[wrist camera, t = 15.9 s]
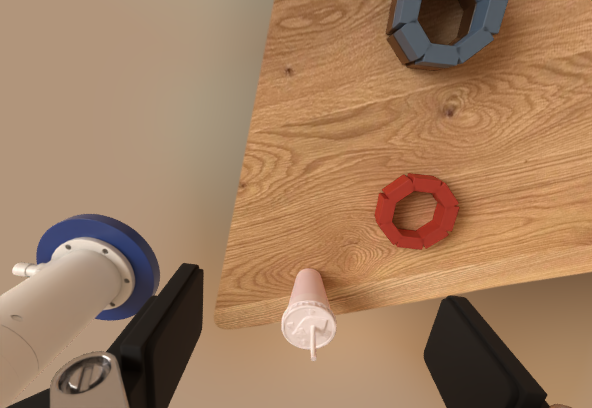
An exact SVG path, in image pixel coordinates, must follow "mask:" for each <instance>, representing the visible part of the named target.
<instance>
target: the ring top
mask: <svg viewBox="0 0 592 408" xmlns="http://www.w3.org/2000/svg"><path fill="white" fill-rule="evenodd" d="M382 191H383V192H384V193H385V194H384V193H379V197H378V202H377V207H376V211H375V218H376V222H377V224H378V225H379V227H380V228H381V230H382V231H383V232H384V234H385V235H386V236H387V237H388V239H389V240H390V241H391V243H392V244H393V245H394V244H396V246H397V247H402V248H411V249H420V250H422V248H423V246H424V247H425V248H426V249H427V248H428V247H430V246H432V245H433V244H435V243H437V242H438V241H440V240H442V239H443V238H445V237H446V236H448V235H449V234H448V233H447V231H452V229H453V226H454V223H455V220H456V217H457V214H458V210H459V207H458V206H457V204H459V203H458V201H457V200H456V198H455V197H454V195H453V194H452V192H451V191H450V189H449V188H448V186H447V185H446V183H444V182H442V181H441V180H439V179H437V178H436V177H434V176H429V175H420V174H411V173H408V176H407V177H406V176H405V175H402V176H401V177H399V178H398V179H396V180H395V181H394V182H392V183H391V184H389V185H388V186H386V187H385V188H383V189H382ZM413 191H419V192H428V193H431V194H432V195H433V197H434V198H435V200H436V201H437V202H438V203H437V206H436V209H435V213H434V216H433V220H432V221H430V222H429V223H427V224H426V225H424V226H422V227H421V228H419V229H418V230H416V231H413V230H404V229H397V227H396V226H395V225H394V223H393V222H392V219H393V215H394V211H395V206H396V203H397V202H399V201H400V200H401V199H403V198H404V197H406V196H407V195H409V194H410V193H412V192H413Z"/></svg>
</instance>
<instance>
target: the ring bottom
mask: <svg viewBox="0 0 592 408" xmlns="http://www.w3.org/2000/svg"><path fill="white" fill-rule="evenodd" d="M458 1H459V3H460V5H461V7H462V8H463V10H464V13H463V16H462V20H461V24H460V28H459V32H458V36H457V38H456V39H455V40H454V41H452V42H451V43H450V44H449V45H450V46H453V45H454V44H456V43H457V42H458V41H459V40H461V39H462V38H463V37H465V36H466V35H467V34H468V33H469V32H470V28H471V25H472V21H473V17H474V14H475V10H476V6H477V2H476V0H458ZM397 2H398V0H392V3H391V8H390V13H389V19H388V24H387V29H386V34H391V36H390V37H389V38H387V41H388V42H389V44H390V45H391V47H392V49H393V50H394V52H395V53H396V55H397V57H398V58H399V60H400V61H401V63H402V64H405V63H407V67H408V68H417V69H426V70H434V71H435V70H439V69H443V68H440V67H431V66H422V65H415V61H416V60H414V61H411V62H410V60H409V59H408V57H407V55H406V54H405V52H404V51H403V49H402V47H401V46H400V44H399V43H398V41H397V39H396V38H395V36H394V33H395V32H397V31H398V30H399V29H393V23H394V17H395V12H396V7H397Z"/></svg>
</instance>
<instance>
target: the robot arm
mask: <svg viewBox="0 0 592 408" xmlns="http://www.w3.org/2000/svg"><path fill="white" fill-rule="evenodd" d="M13 274H14V275H17V276H25V277H30V278H28V279H26V280H25V281H23V282H22V283H20V284H18V285H17V286H15V287H14V288H12V289H10V290H9V291H7V292H6V293H4V294H3V295H1V296H0V408H168V406H169V403H170V401H171V399H172V397H173V394H174V392H175V390H176V388H177V385H178V383H179V381H180V378H181V377H182V374H183V372H184V370H185V368H186V365H187V363H188V361H189V359H190V356H191V354H192V352H193V350H194V348H195V345H196V343H197V341H198V339H199V336H200V333H201V330H202V319H203V317H202V316H203V315H202V314H203V269H199V266H198V265H195V264H187V263H183V264H182V265H181V266H180V267H179V269H178V270H177V271H176V273H175V274H174V275H173V276H172V278H171V279H170V280H169V282H168V283H167V284H166V286H165V287H164V288H163V290H162V291H161V292H160V294H159V295H158V296H154V295H153V296H151V297H150V298H149V299H148V300H147V301H146V302H145V304H144V305H143V306H142V307H141V309H140V310H139V311H138V312H137V314H136V315H135V316H134V318H133V319H132V320H131V321H130V323H129V324H128V325H127V326H126V328H125V329H124V330H123V331H122V333H121V334H120V335H119V336H118V338H117V339H116V340H115V341H114V343H113V344H112V345H111V346H110V348H109V349H108V350H107V351H106V352H103V351H99V352H91V353H87V354H83V355H81V356H79V357H76V358H74V359H73V360H71V361H69V362H68V363H66V364H65V365H64V366H63V367H62V368H60V369H59V371H57V372H56V374H55V376H54V377H53V379H52V381H51V385H50V388H49V389H46V390H44V391H42V392H40V393H37V394H35V395H33V396H31V397H28V398H26V399H24V400H22V401H19V402H17V403H15V404H13V405H10V404H11V403H12V401H13V400H14V399H15V398H16V397H17V396H18V395H19V394H20V393H21V392H22V391H23V390H24V389H25V388H26V387H27V386H28V385H29V384H30V383H31V382H32V381H33V380H34V379H35V378H36V377H37V376H38V375H39V374H40V373H41V372H42V371H43V370H44V369H45V368H46V367H47V366H48V365H49V364H50V363H51V362H52V361H53V360H54V359H55V358H56V357H57V356H58V355H59V354H60V353H61V352H62V351H63V350H64V349H65V348H66V347H67V346H68V345H69V344H70V343H71V342H72V341H73V339H75V337H77V336H78V335H79V334H80V333H81V332H82V331H83V329H85V328H86V326H88V325H89V324H90V323H91V322H92V320H94V318H95V317H96V316H97V315H98V314H99V313H100V312H101V311H102V310H108V309H113V308H116V307H118V306H120V305H122V304H123V303H124V302H125V301H126V300H127V299H128V298H129V297H130V296H131V294H132V292H133V290H134V287H135V275H134V271H133V268H132V266H131V264H130V262H129V261H128V260H127V258H126V257H125V256H124V255H123V254H122V253H121V252H120V251H119V250H118V249H117V248H115V247H114V246H112V245H111V244H109V243H107V242H105V241H102V240H99V239H96V238H91V237H79V238H74V239H71V240H69V241H67V242H65V243H63V244H62V245H60V246H59V247H58V248H57V249H56V250H55V252H54V253H53V255H52V258H51V261H49V262H48V263H40V264H38V265H35V264H31V263H23V262H21V263H18V264H16V265H15V266H14V268H13ZM424 360H425V363H426V365H427V367H428V369H429V371H430V373H431V376H432V378H433V380H434V382H435V384H436V386H437V388H438V390H439V392H440V395H441V397H442V399H443V401H444V403H445V405H446V407H447V408H571V407H569V406H565V405H561V404H554V405H551V406H549V405H548V403H547V402H546V401H545V399H546V397H547V393H546V392H545V391H544V390H543V389H542V388H541V386H540V385H539V384H538V383H537V382H536V380H535V379H534V378H533V377H532V376H531V374H530V373H529V372H528V371H527V370H526V369H525V367H524V366H523V365H522V364H521V363H520V361H519V360H518V359H517V358H516V357H515V356H514V354H513V353H512V352H511V351H510V350H509V348H508V347H507V346H506V345H505V344H504V343H503V341H502V340H501V339H500V338H499V336H498V335H497V334H496V333H495V332H494V331H493V329H492V328H491V327H490V326H489V325H488V323H487V322H486V321H485V320H484V319H483V317H482V316H481V315H480V314H479V313H478V312H477V310H476V309H475V308H474V307H473V306H472V304H471V303H470V302H469V301H468V300H467V299H466V298H464V297H458V296H451V295H450V296H447V297H446V299H443V300H442V302H441V304H440V307H439V310H438V313H437V316H436V319H435V322H434V324H433V327H432V330H431V333H430V336H429V339H428V342H427V345H426V347H425V350H424ZM9 405H10V406H9Z"/></svg>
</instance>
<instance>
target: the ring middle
mask: <svg viewBox="0 0 592 408" xmlns="http://www.w3.org/2000/svg"><path fill="white" fill-rule="evenodd" d="M421 1H422V0H398V2H397V7H396V12H395V17H394V23H393V29H399V30H398V31H397V32H395V33H394V36H395V38H396V39H397V41H398V43H399V44H400V46H401V47H402V49H403V51H404V52H405V54H406V55H407V57H408V59H409V60H410V62H411V61H414V60H416V61H415V65H422V66H431V67H440V68H448V67H452V66H456V65H458V64H462V63H464V62H465V61H467V60H468V59H469V58H470V57H472V56H473V55H474V54H476V53H477V52H478V51H480V50H481V49H482V48H484V47H485V46H486V45H488V44H489V43H490V42H491V41H493V40H494V38H493V36H492V35H495V34H498V33H499V29H500V26H501V23H502V20H503V16H504V13H505V10H506V6H507V3H508V0H476V2H477V6H476V10H475V14H474V17H473V21H472V25H471V28H470V32H469V33H468V34H467V35H466V36H465V37H463V38H462V39H461V40H459V41H458V42H457V43H456V44H454V45H453V46H450V45H441V44H432V43H431V42H430V40H429V39H428V37H427V35H426V34H425V32H424V30H423V29H422V27H421V25H420V24H419V22H418V20H417V19H418V15H419V10H420V5H421Z"/></svg>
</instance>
